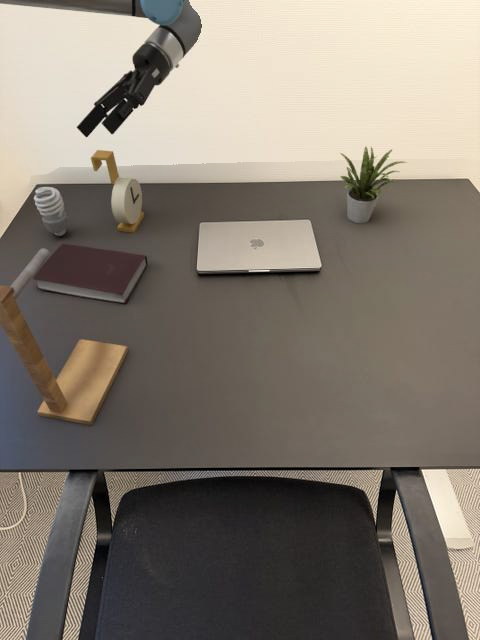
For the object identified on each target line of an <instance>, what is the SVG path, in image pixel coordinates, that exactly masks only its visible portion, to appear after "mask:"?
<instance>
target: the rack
mask: <svg viewBox="0 0 480 640" xmlns="http://www.w3.org/2000/svg"><path fill="white" fill-rule="evenodd" d="M50 256H51V253H50V251H49V250H48V249H47V248H45V247H42V248H40V249H39V250H37V252H36V254H35V255H34V256H33V257H32V258H31V260H30V261H29V263H28V264H27V265H26V266H25V268H24V269H23V270H22V271H21V272H20V274H19V275H18V276H17V277H16V278H15V280H14V281H13V282H12V284H10V286H9V285H3V284H2V285H1V284H0V325H1V327H2V329H3V331H4V333H5V334H6V336H7V338H8V340H9V341H10V343H11V345H12V347H13V348H14V350H15V352H16V353H17V356H18V358H20V360H21V362H22V365H24V368H25V369H26V371H27V373H28V375H29V376H30V377H31V380H32V381H33V383H34V385H35V387H36V389H37V390H38V392H39V394H40V395H41V398H42V399H43V401H42V403H41V404H40V406H39V408H38V410H37V413H38V415H39V416H40V417H45V418H50V419H55V420H61V421H66V422H72V423H77V424H82V425H86V426H87V425H88V426H93V424H94V422H95V420H96V418H97V416H98V415H99V412H100V410H101V408H102V406H103V404H104V402H105V399H106V397H107V395H108V393H109V392H110V389H111V387H112V385H113V384H114V381H115V379H116V376H117V375H118V372H119V371H120V368H121V367H122V364H123V362H124V361H125V358H126V356H127V354H128V352H129V347H128V346H126V345H122V344H121V345H120V344H114V343H108V342H102V341H96V340H89V339H83V338H79V340H78V342H77V343H76V345H75V347H74V348H73V350H72V352H71V353H70V355H69V357H68V358H67V360H66V362H65V364H64V365H63V367H62V369H61V371H60V372H59V374H58V375H57V377H56V378H55V375H54V373H53V371H52V370H51V368H50V366H49V364H48V362H47V359H46V358H45V356H44V354H43V352H42V350H41V348H40V346H39V344H38V343H37V340H36V339H35V336H34V334H33V333H32V330H31V328H30V327H29V325H28V323H27V320H26V318H25V317H24V315H23V313H22V311H21V309H20V307H19V305H18V303H17V301H16V300H17V299H18V297H19V295H20V294H21V293H22V292H23V291H24V289H25V288H26V287H27V285H28V284H29V283H30V281H31V280H33V277H34V276H35V274H36V273H37V272H38V270H39V269H40V268H41V267H42V266H43V264H44V263H45V262H46V261H47V260H48V259H49V257H50Z"/></svg>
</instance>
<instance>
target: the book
mask: <svg viewBox="0 0 480 640" xmlns="http://www.w3.org/2000/svg"><path fill="white" fill-rule="evenodd" d="M147 267H148V257H147V255H145V254H140V253H132V252H127V251H118V250H111V249H103V248H96V247H91V246H84V245H77V244H71V243H64V242H63V243H61V244H60V245H59V246H58V247H57V248H56V249H55V250H54V252H53V253H52V254H50V255H49V257H48V258H47V259H46V260H45V262H44V263H43V264H42V266H41V267H40V268H39V270H38V271H37V272H36V273H35V275H34V276H33V277H32V280H34V281H35V282H36V284H37V285H36V289H38V290H42V291H47V292H52V293H59V294H64V295H68V296H73V297H80V298H86V299H92V300H98V301H102V302H103V301H106V302H111V303H118V304H126V303H127V301H128V300H129V298H130V297H131V295H132V293H133V291H134V290H135V288H136V287H137V285H138V282H139V281H140V279H141V277H142V276H143V274H144V272H145V271H146V269H147Z"/></svg>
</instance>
